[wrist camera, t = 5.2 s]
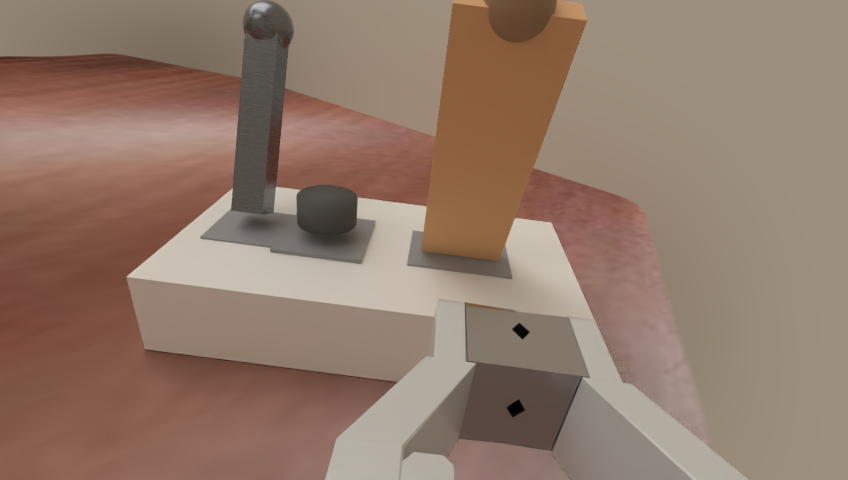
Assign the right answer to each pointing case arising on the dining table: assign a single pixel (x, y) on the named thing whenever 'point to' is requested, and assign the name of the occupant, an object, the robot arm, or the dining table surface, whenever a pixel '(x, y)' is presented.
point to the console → (332, 287)
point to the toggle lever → (261, 106)
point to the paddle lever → (494, 117)
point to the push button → (326, 210)
